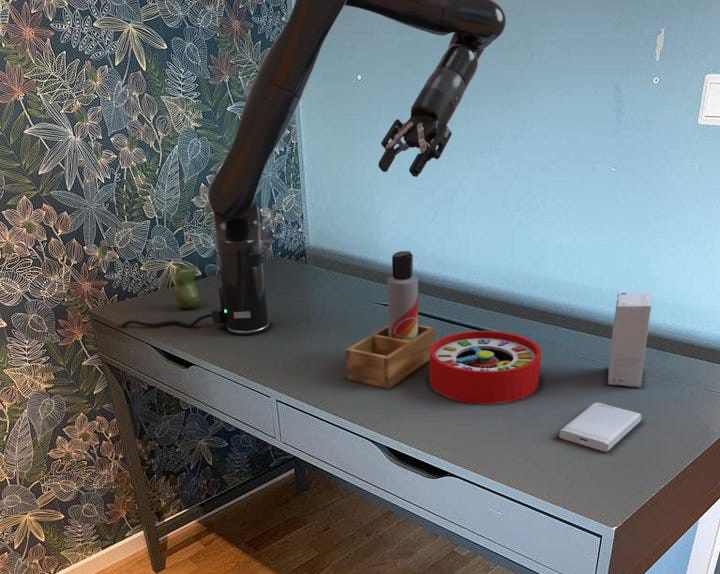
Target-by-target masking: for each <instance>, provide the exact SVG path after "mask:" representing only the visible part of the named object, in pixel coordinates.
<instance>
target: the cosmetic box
mask: <svg viewBox="0 0 720 574" xmlns="http://www.w3.org/2000/svg"><path fill="white" fill-rule="evenodd" d="M651 311H652V294H651V293H647V292H635V293H634V292H618V293H617V299H616V306H615V311H614V319H613V326H612V333H611V334H612V335H611V341H610V351H609V357H608V372H607V373H608V375H607V377H608V378H607V379H608V380H607V384H608V385H611V386H612V385H613V386H624V387H631V388H641V387H642V379H643V372H644V363H645V357H646V350H647V349H646V348H647V340H648V334H649V327H650V318H651Z"/></svg>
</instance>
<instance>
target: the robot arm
mask: <svg viewBox="0 0 720 574" xmlns="http://www.w3.org/2000/svg"><path fill="white" fill-rule="evenodd" d="M344 7H353V8H356V9H361V10H364V11H367V12H371V13H374V14H377V15H379V16H381V17H382V16H383V17H384V18H387V19H389V20H392V21H395V22H397V23H399V24H402V25H404V26H407V27H410V28H413V29H415V30H419V31H422V32H425V33H429V34H432V35H435V36H438V37H439V36H441V37H444V36H447V35H449V34H452V35H451V38H450V41H449V44H448V46H447V49H446V50H445V52H444V53H443V55H442V57H441V58H440V60H439V62H438V63H437V65H436V67H435V69H434V70H433V72H432V73H431V74H430V76H429V77H428V78H427V80H426V82H425V83H424V85H423V87H422V88H421V90H420V92H419V94H418V95H417V97H416V99H415V100H414V102H413V104H412V105H411V107H410V117H409V119H408V120H407V121H406V122H401V120H400V119H399V118H397V119H395V120H394V122H393V123H392V124H391V126H390V128H389V129H388V131H387V133H386V134H385V135H384V138H383V139H382V140H381V142H380V144H381V146H382V147H383V149H384V152H383V154H382V156H381V157H380V159H379V161H378V168H379V169H380V170H381V172H383V173H387V172H388V170H389V169H390V167H391V165H392V164H393V162H394V161H395V158H396V156H397V155H398V154H400V153H401V152H405V151H407V150H409V149H410V148H411V149H412V148H417V149H418V150H419V152H418V153H417V155H416V156H415V157H414V159H413V161H412V163H411V165H410V166H409V168H408V171H409V173H410V174H411V176H412V177H415V178H417V177H418V176H419V175H420V174H421V173H422V171H423V170H424V168H425V167H426V164H427V163H428V162H430V161H431V160H432V159H435V160H439V159H440V157H441V156H442V154H443V152H444V150H445V148H446V147H447V144H448V143H449V141H450V139H451V137H452V135H453V133H452V131H451V129H450V128H449V126H448V124H449V122H450V121H451V119H452V117H453V116H454V113H455V112H456V110H457V108H458V107H459V105H460V103H461V101H462V99H463V96H464V95H465V92H466V90H467V89H468V87H469V85H470V84H471V81H472V80H473V79H474V76H475V74H476V72H477V69H478V66H479V59H480V57H481V56H482V54H483V53H484V52H485V50H486V49H487V48H488V47H489V46H490V45H491V44H493V42H495V41H496V40H497V39H498V38H500V36H502V35H503V33H504V30H505V28H506V23H507V18H506V14H505V11H504V9H503V8H502V7H501V6H500V5H499V4H498V3H497V2H496V1H493V0H295V2H294V5H293V8H292V10H291V13H290V15H289V17H288V20H287V22H286V24H285V26H284V27H283V29H282V31H281V32H280V33H279V35H278V37H276V39H275V40H274V42H273V44H272V45H271V46H270V48H269V50H268V51H267V53H266V55H265V56H264V58H263V60H262V62H261V64H260V66H259V68H258V70H257V72H256V75H255V76H254V79H253V81H252V84H251V85H250V86H251V87H250V89H249V91H248V94H247V97H246V99H245V103H244V106H243V108H242V112H241V115H240V119H239V122H238V125H237V129H236V133H235V136H234V138H233V142H232V143H231V146H230V149H229V151H228V153H227V155H226V157H225V158H224V161H223V162H222V165H220V168H219V170H218V171H217V172H216V173H215V174H214V176H213V177H212V179H211V180H210V183H209V185H208V190H207V201H208V205H209V207H210V209H211V210H212V212H213V220H214V230H215V231H214V233H215V234H214V235H215V237H214V238H215V240H214V241H215V248H216V255H217V262H218V269H219V277H220V284H221V285H219V286H218V295H219V302H220V306H219V307H216V308H214V309H212V310H211V313H208V314H204V315H201V316H199V317H197V318H196V319H195V320H193V321H192V322H190V323H185V322H183V321H181V320H177V319H176V320H175V319H173V320H164V321H159V322H145V321H140V320H136V319H135V320H134V319H130V320H126V321H124V322H123V323H122V324H121V325H120V328H126V326H128V325H130V324H134V325H139V326H142V327H143V326H144V327H160V326H161V327H162V326H167V325H174V324H175V325H180V326H183V327H185V328H192V327H193V326H195V325H197V324H199V322H201V321H203V320H205V319H209V318H212V321H213V324H217V325H222V324H223V329H225V330H227V332H229V333H231V334H234V335H242V336H243V335H245V336H246V335H254V334H258V333H261V332H264V331H266V330H267V329H268V328H269V327H270V321H269V316H268V315H269V313H268V304H267V294H266V285H265V276H264V275H265V274H264V266H263V259H262V248H261V234H260V233H261V232H260V221H259V214H258V213H259V211H258V200H257V191H258V187H259V185H260V182H261V180H262V176H263V174H264V171H265V168H266V166H267V164H268V161H269V159H270V158H271V156H272V154H273V152H274V151H275V149H276V148H277V146H278V144H279V142H280V141H281V140H282V138H283V136H284V134H285V132H286V130H287V129H288V127H289V125H290V123H291V121H292V120H293V117H294V116H295V113H296V111H297V108H298V106H299V104H300V102H301V100H302V98H303V95H304V94H305V90H306V88H307V86H308V83H309V81H310V79H311V76H312V74H313V71H314V69H315V66H316V63H317V60H318V58H319V55H320V52H321V50H322V48H323V45H324V43H325V41H326V39H327V37H328V35H329V33H330V31H331V29H332V28H333V26H334V24H335V22H336V20H337V19H338V18H339V15H340V13H341V12H342V10H343V9H344ZM402 139H403V140H402ZM396 145H398V146H396ZM128 409H129V413H130V418H131V422H132V427H133V432H134V433H133V434H134V437H138V436H139V434H138V428H137V422H136V419H135V413H134V409H133V406H132V405H128Z"/></svg>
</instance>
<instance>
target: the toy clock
mask: <svg viewBox="0 0 720 574" xmlns="http://www.w3.org/2000/svg"><path fill="white" fill-rule="evenodd" d="M541 357H542V349H541V348H540V346H539V345H538V344H537V343H536V342H534V341H533V340H531V339H530V338H527V337H524V336H523V335H519V334H515V333H511V332H504V331H499V330H498V331H497V330H471V331H470V330H469V331H461V332H456V333H452V334H448V335H445V336H443V337H441V338H439V339H437V340H435V343H434V344H433V345H432V346H431V348H430V360H429V385H430V386H431V388H432V389H433V390H434V391H435V392H437V393H438V394H440V395H442V396H444V397H446V398H449V399H451V400H455V401H460V402H462V403H463V402H465V403H471V404H483V405H484V404H485V405H486V404H487V405H488V404H489V405H490V404H502V403H503V404H504V403H508V402H514V401H517V400H520V399H524V398H525V397H528V396H529V395H531V394H533V393H534V392H535V391H536V390H537V389H538V386H539V382H540V381H539V380H540V371H541V370H540V369H541V359H542V358H541Z"/></svg>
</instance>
